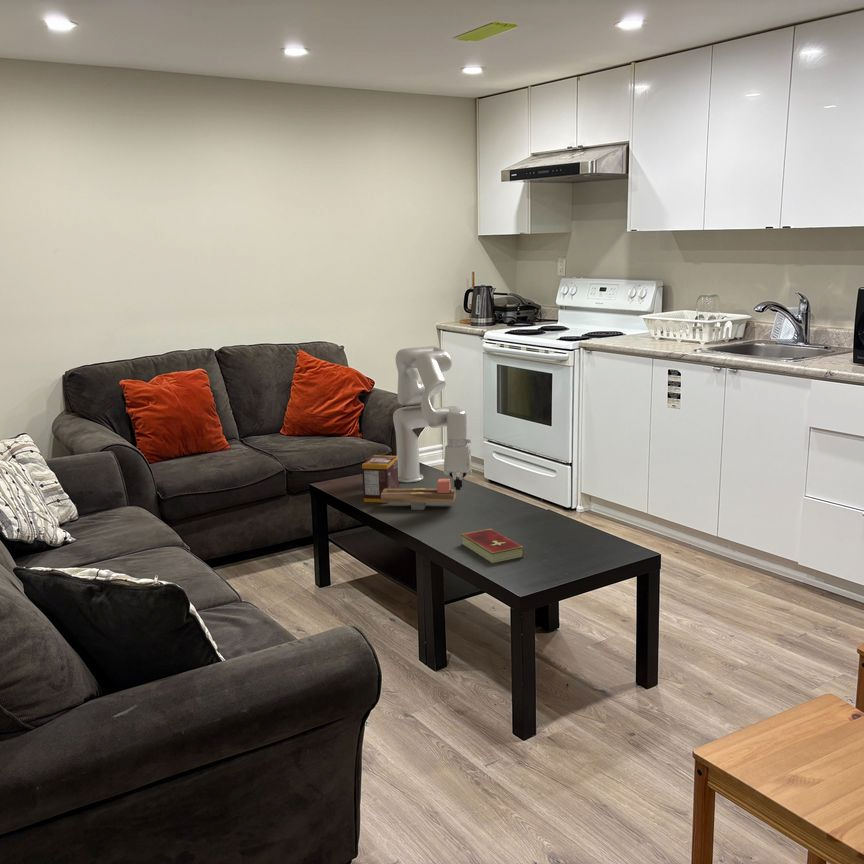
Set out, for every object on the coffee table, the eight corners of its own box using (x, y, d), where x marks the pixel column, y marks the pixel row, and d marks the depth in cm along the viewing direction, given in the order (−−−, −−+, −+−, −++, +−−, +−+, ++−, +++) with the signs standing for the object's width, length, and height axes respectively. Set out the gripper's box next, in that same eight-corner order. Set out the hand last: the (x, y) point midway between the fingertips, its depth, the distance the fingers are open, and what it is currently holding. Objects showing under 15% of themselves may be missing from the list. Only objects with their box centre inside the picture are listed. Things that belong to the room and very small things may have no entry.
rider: (439, 493, 333) (439, 478, 331) (450, 493, 332) (450, 478, 331) (437, 497, 327) (437, 483, 326) (449, 497, 326) (448, 483, 325)
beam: (385, 503, 337) (384, 487, 336) (455, 504, 334) (455, 488, 332) (381, 509, 330) (380, 493, 328) (453, 510, 326) (453, 494, 325)
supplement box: (399, 492, 352) (397, 455, 349) (388, 503, 338) (386, 465, 335) (375, 491, 355) (373, 454, 352) (363, 502, 340) (361, 464, 337)
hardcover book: (492, 539, 295) (491, 527, 294) (524, 558, 276) (524, 545, 275) (461, 545, 290) (460, 533, 289) (492, 565, 271) (491, 552, 270)
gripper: (477, 440, 327) (478, 486, 331) (438, 440, 329) (440, 486, 333) (476, 444, 320) (477, 492, 324) (436, 444, 322) (437, 491, 325)
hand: (458, 489), depth 328 cm, fingers closed
